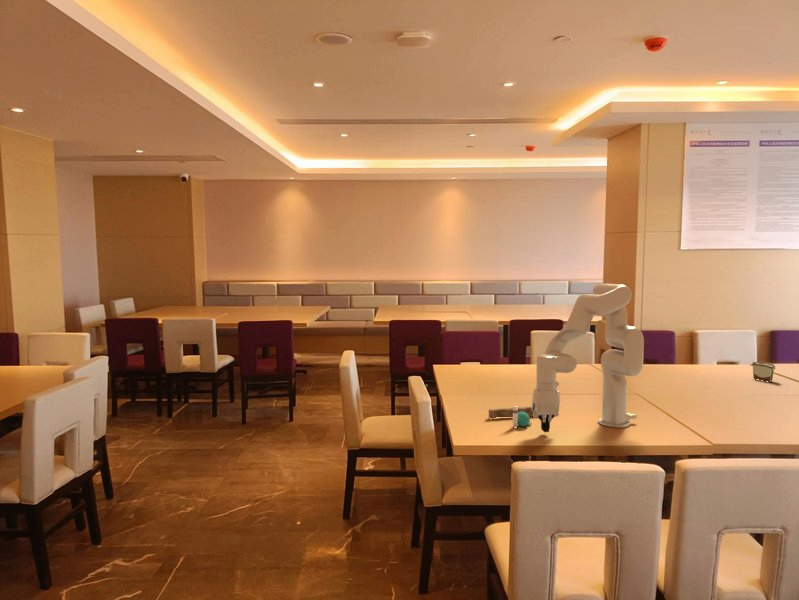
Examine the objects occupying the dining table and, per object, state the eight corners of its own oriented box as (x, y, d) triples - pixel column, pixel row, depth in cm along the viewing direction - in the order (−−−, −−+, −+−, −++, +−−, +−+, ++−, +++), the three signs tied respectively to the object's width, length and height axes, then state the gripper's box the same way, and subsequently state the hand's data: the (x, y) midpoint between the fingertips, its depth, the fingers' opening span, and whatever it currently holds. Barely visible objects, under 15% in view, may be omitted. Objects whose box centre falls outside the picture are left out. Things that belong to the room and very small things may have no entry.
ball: (517, 410, 233) (526, 407, 228) (524, 422, 233) (534, 419, 228) (509, 418, 229) (519, 415, 225) (517, 430, 229) (527, 427, 224)
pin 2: (533, 422, 230) (524, 416, 239) (529, 419, 229) (520, 413, 238) (530, 426, 230) (522, 420, 239) (526, 424, 229) (518, 417, 238)
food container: (780, 382, 304) (780, 365, 303) (772, 383, 301) (773, 365, 300) (758, 378, 315) (759, 361, 314) (751, 379, 313) (751, 361, 312)
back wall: (539, 414, 245) (539, 406, 245) (541, 416, 243) (541, 407, 243) (488, 418, 240) (488, 409, 240) (490, 419, 238) (490, 410, 238)
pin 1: (516, 426, 228) (516, 405, 227) (518, 428, 226) (518, 407, 225) (511, 427, 228) (511, 406, 227) (513, 428, 226) (513, 407, 225)
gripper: (558, 382, 221) (558, 427, 223) (524, 384, 218) (523, 429, 220) (568, 387, 214) (567, 432, 215) (532, 389, 211) (532, 435, 212)
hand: (545, 431), depth 218 cm, fingers closed
